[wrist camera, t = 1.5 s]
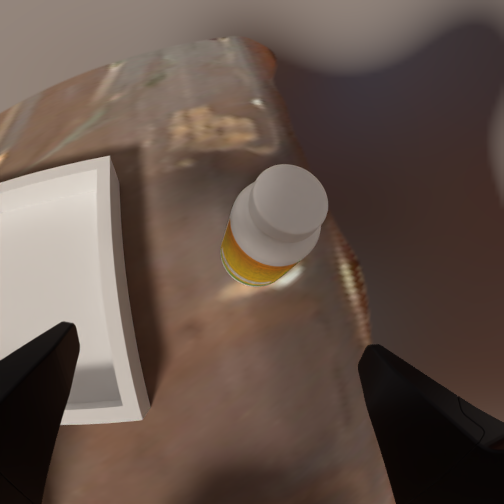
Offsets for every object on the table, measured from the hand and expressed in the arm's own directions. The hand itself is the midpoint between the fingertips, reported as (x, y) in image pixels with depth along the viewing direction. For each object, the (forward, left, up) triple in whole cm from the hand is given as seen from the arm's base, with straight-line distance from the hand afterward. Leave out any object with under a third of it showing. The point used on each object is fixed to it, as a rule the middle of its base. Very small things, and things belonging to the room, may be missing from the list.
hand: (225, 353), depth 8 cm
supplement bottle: (+6, -5, -14) cm, 16 cm away
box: (+5, +14, -14) cm, 20 cm away
